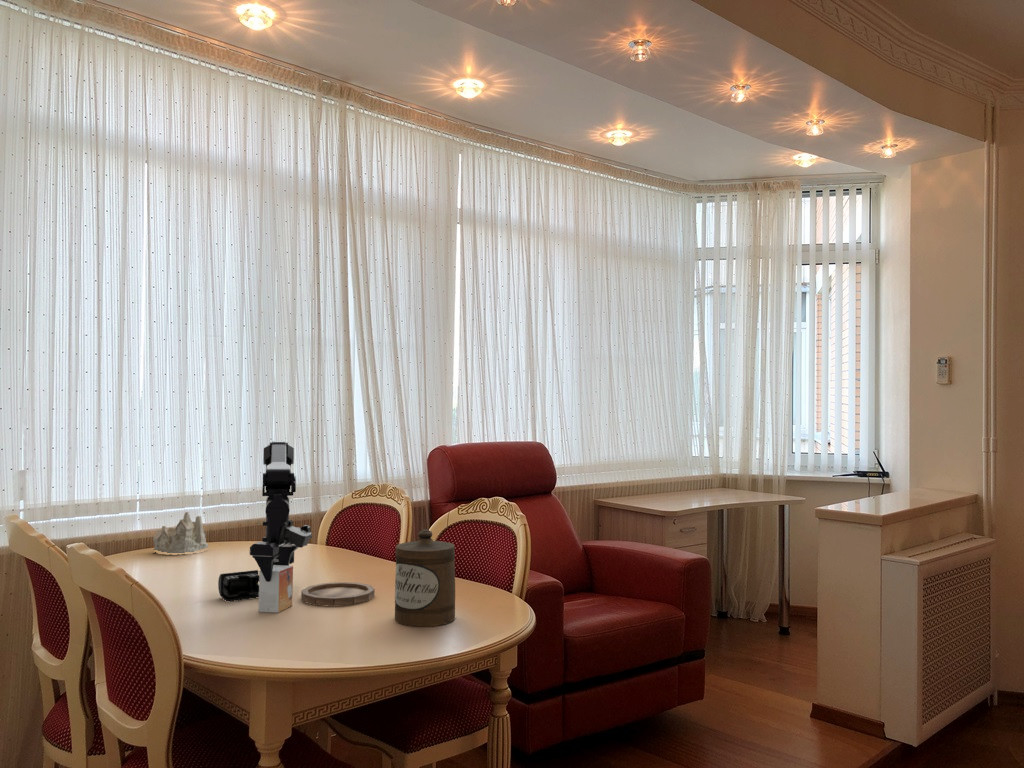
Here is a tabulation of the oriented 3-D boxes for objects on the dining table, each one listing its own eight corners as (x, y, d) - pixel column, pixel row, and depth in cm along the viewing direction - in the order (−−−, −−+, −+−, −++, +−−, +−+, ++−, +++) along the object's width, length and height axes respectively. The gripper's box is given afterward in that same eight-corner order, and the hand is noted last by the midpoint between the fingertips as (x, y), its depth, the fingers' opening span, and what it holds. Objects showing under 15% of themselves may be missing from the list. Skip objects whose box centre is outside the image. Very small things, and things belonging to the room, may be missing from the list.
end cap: (254, 592, 227) (255, 568, 227) (262, 597, 221) (262, 572, 221) (217, 597, 221) (218, 572, 222) (224, 602, 215) (225, 576, 216)
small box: (278, 613, 205) (279, 571, 205) (257, 612, 206) (258, 570, 206) (293, 605, 212) (293, 565, 213) (273, 604, 214) (274, 564, 214)
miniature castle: (216, 549, 292) (213, 507, 292) (180, 558, 276) (177, 514, 277) (183, 548, 298) (180, 507, 298) (146, 557, 283) (144, 514, 283)
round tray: (290, 603, 214) (290, 596, 214) (318, 587, 233) (318, 580, 233) (359, 607, 211) (359, 599, 211) (382, 590, 230) (382, 583, 230)
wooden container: (382, 621, 198) (383, 530, 199) (419, 608, 211) (420, 523, 212) (430, 630, 191) (431, 536, 191) (466, 617, 203) (467, 528, 204)
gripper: (291, 523, 199) (290, 587, 199) (321, 513, 218) (320, 571, 217) (249, 521, 201) (247, 585, 201) (281, 511, 219) (280, 569, 219)
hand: (276, 577), depth 209 cm, fingers open, 9 cm apart
